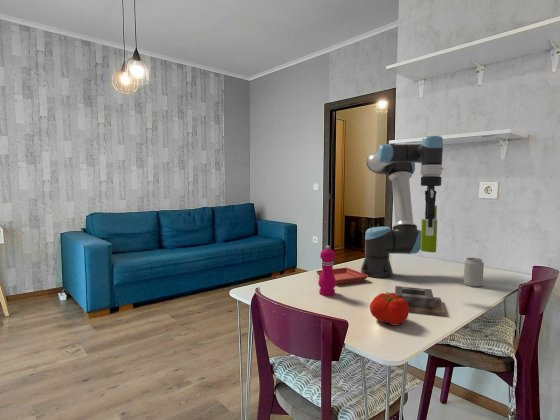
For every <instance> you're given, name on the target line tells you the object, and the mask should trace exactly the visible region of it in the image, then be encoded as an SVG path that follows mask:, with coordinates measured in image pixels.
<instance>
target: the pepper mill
mask: <svg viewBox="0 0 560 420" xmlns="http://www.w3.org/2000/svg"><path fill="white" fill-rule="evenodd" d="M319 257H320V259H321V265H322V269H321V270H322V273H321V276H319V277H318V281H317V282H318V286H319V290H318V292H319V295H321V296H325V297H331V296H334V295H335V294H336V291H335V290H336V289H335V288H336V286H337V285H336V279H335V277H334V274H333V269H334V268H333V267H334V264H335V263H334V262H335V261H334V259H336V254H335V251H334V250H333V249H331V246H330V245H328V244H327V245H326V246H325V249H323V250H320V254H319Z"/></svg>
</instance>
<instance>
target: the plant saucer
mask: <svg viewBox="0 0 560 420" xmlns="http://www.w3.org/2000/svg"><path fill="white" fill-rule="evenodd" d="M315 272H316V274H317V275H318V276H319V277H320V276H321V273H322V269H321V270H316V271H315ZM333 274H334V277H335V279H336V286H337V285H338V286H339V285H346V284H353V283H361V282H364V281H365V280H366V279H367V278H368V275H366V274H363V273H361V271H358V270H354V269H352V268H349V267H339V268H333Z"/></svg>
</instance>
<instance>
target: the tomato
mask: <svg viewBox="0 0 560 420" xmlns="http://www.w3.org/2000/svg"><path fill="white" fill-rule="evenodd" d="M389 293H390V294H388V295H387V294H386V293H379V294H378V295H376V296H375V297H373V299H372V301H371V302H370V305H369V311H370V314H371V316H372V317H374V318H375V319H376V320H378V321H379V322H381V323H389V324H390V325H391V326H392V325H393V326H398V325H402V324H403V323H405V322H406V321H407V319H408V318H409V313H410V312H409V306H408V304H407V302H406V301H405V299H402V298H399V296H397V295H395V294H392V293H393V292H389Z"/></svg>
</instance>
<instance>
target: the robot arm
mask: <svg viewBox="0 0 560 420" xmlns="http://www.w3.org/2000/svg"><path fill="white" fill-rule="evenodd" d="M443 141H444V139H443V137H442V136H440V135H428V136H424V137H422V140H421V144H420V143H419V144H418V143H416V144H415V143H413V144H412V143H411V144H410V143H407V144H400V143H398V144H396V143H395V144H394V143H393V144H391V143H385V144H380V145H379V147H378V149H377V152H372V153H371V154H369V156H367V158H366V167H367V169H368V170H369V171H371V172H372V173H374V174H378V175H388V176H387V177H388V179H389V181H391V186H392V187H391V188H392V199H393V200H392V201H393V212H394V225H393V226H392V229H391V228H390V226H374V227H369V228H368V229H366V231H365V236H364V237H365V238H364V241H365V242H364V243H365V244H364V259H363V262H362V265H361V268H360V273H363V274H366V275H368V277H369V278H376V279H377V278H378V279H379V278H381V279H382V278H383V279H385V278H391V277H393V271H394V270H393V268H392V265H391V261H390V254H399V255H400V254H403V255H410V254H411V255H412V254H418V253H420V251H421V229H418V226H417V224H415V223H414V218H413V217H414V216H413V215H414V214H413V207H412V196H411V186H410V179H411V178H412V176H413V174H414V173H415V171H416V163H418V164H421V166H420V176H421V177H420V186H422V187H427V188H426V190H424V195H425V196H424V200H425V201H424V202H425V208H424V209H425V212H424V219H426V236H433V235H434V218H435V206H436V201H437V200H436V197H437V190H435V187H441V186H442V180H443V179H442V176H441V175H442V174H443V173H442V171H443V170H444V167H443V166H442V165H443V151H444V142H443ZM368 277H367V278H368Z"/></svg>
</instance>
